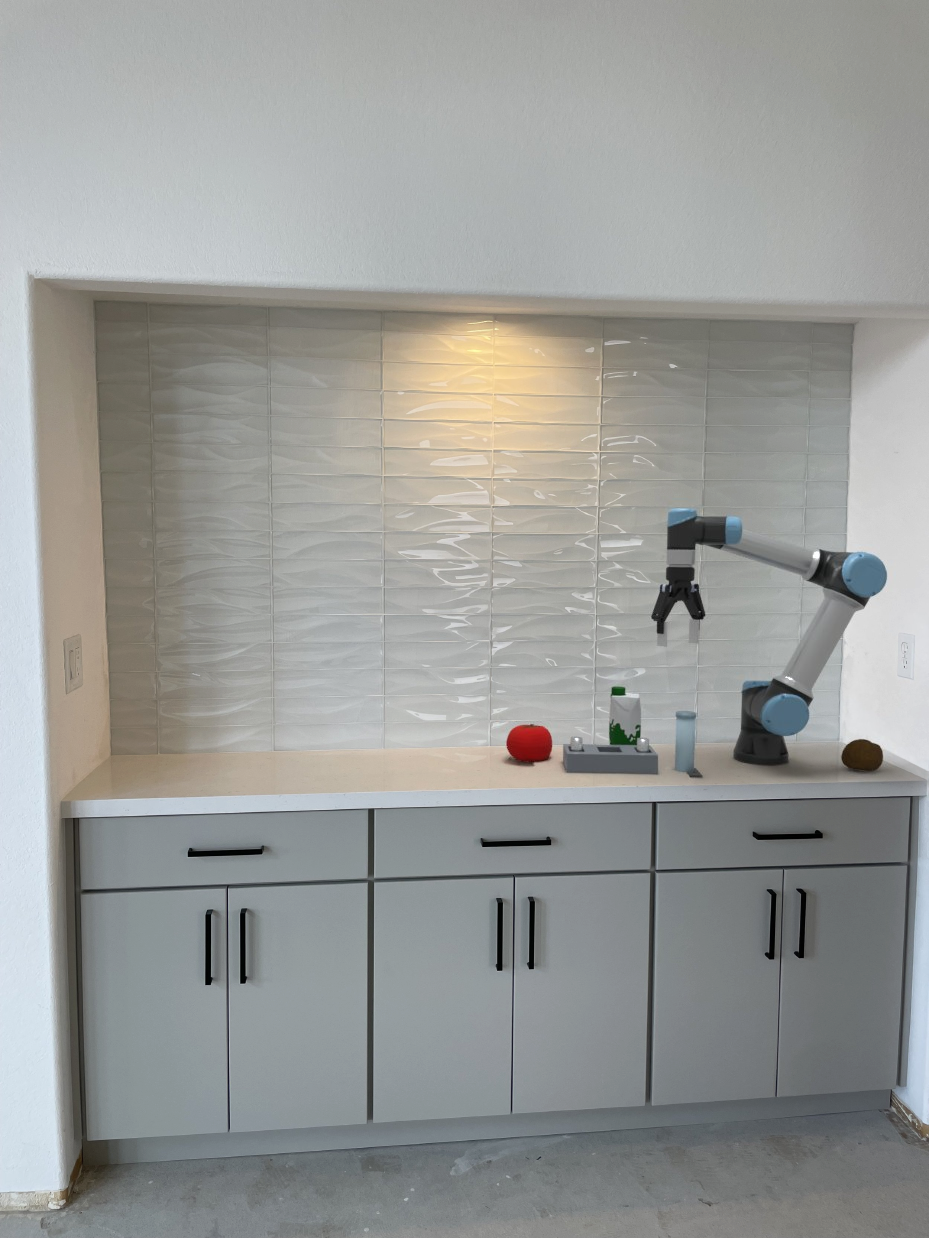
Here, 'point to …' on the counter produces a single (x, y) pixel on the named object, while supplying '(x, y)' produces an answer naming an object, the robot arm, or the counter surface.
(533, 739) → the tomato
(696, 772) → the mat
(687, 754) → the cartridge
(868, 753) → the potato
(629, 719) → the milk carton
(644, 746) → the plunger
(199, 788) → the counter surface
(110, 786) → the counter surface
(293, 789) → the counter surface
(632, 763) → the housing
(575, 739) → the plunger
